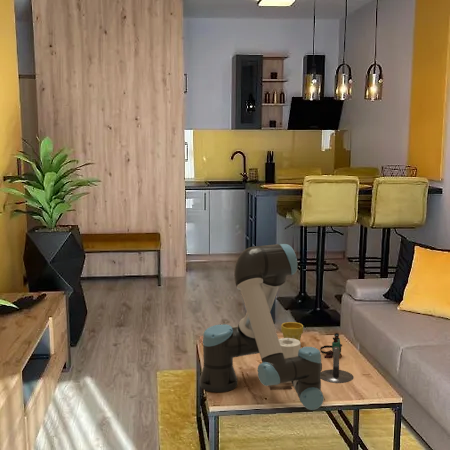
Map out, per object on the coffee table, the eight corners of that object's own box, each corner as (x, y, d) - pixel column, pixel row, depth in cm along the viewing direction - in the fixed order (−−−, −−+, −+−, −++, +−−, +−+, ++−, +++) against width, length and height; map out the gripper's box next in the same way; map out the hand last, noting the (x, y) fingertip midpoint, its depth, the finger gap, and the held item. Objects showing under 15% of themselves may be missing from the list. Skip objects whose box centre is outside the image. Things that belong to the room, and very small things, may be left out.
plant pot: (307, 344, 279) (307, 324, 278) (294, 350, 271) (295, 330, 270) (289, 339, 286) (289, 320, 284) (276, 345, 278) (276, 325, 277)
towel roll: (277, 383, 232) (277, 346, 230) (273, 373, 242) (273, 338, 240) (302, 382, 233) (302, 345, 230) (297, 372, 242) (297, 337, 240)
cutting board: (270, 389, 229) (270, 386, 229) (264, 373, 245) (264, 370, 244) (311, 387, 230) (311, 384, 230) (302, 372, 246) (302, 369, 246)
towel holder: (323, 386, 232) (323, 354, 230) (315, 372, 245) (315, 342, 243) (358, 384, 233) (358, 353, 231) (347, 371, 246) (348, 341, 245)
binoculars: (320, 332, 267) (342, 332, 263) (322, 354, 268) (344, 354, 264) (317, 338, 258) (339, 338, 255) (319, 361, 259) (342, 362, 256)
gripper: (268, 393, 207) (259, 370, 228) (337, 390, 209) (322, 368, 230) (268, 373, 206) (259, 352, 227) (337, 370, 208) (322, 349, 229)
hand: (291, 360), depth 229 cm, fingers open, 13 cm apart
